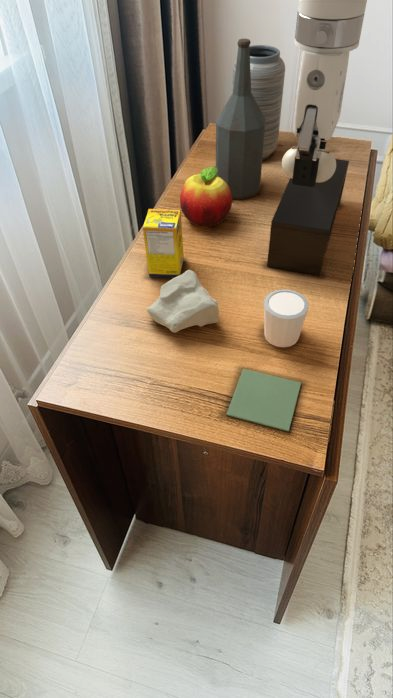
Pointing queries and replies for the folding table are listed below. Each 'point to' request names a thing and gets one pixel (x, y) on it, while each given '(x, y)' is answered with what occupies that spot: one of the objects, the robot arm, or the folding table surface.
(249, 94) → the bottle
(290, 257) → the long dark rectangular box
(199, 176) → the fruit
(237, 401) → the mat
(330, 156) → the cream rounded oblong block
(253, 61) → the vase
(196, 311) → the decorative stone
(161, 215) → the supplement box
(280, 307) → the white cup
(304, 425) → the folding table surface
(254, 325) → the folding table surface
